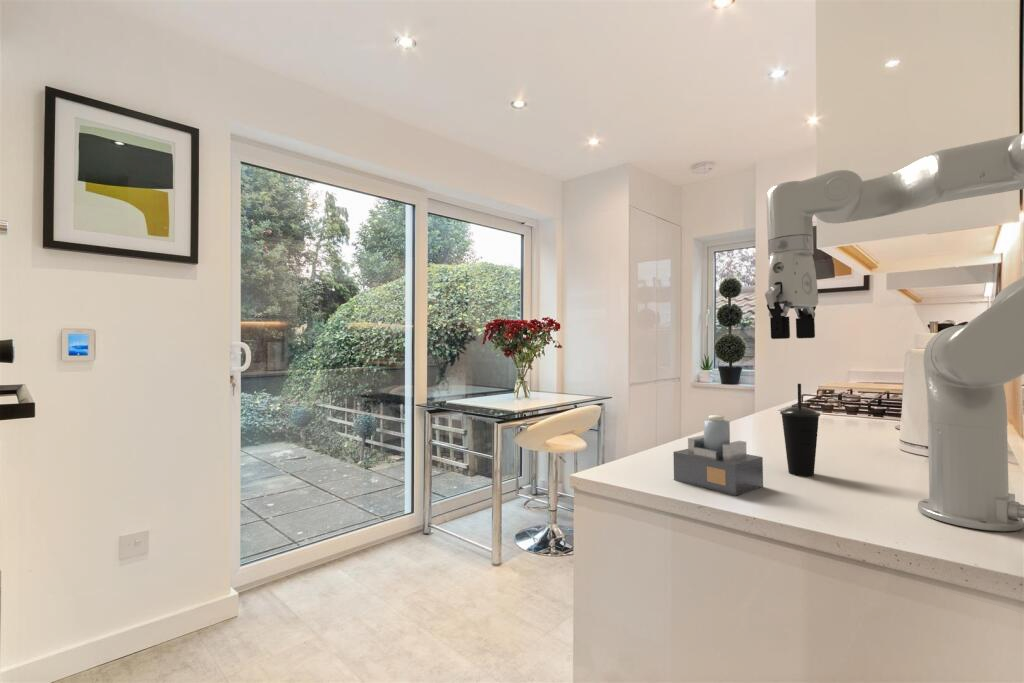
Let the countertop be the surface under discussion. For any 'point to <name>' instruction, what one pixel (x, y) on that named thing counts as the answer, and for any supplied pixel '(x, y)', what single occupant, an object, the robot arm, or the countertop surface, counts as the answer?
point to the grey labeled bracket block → (719, 467)
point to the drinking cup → (800, 438)
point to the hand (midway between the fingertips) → (793, 338)
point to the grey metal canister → (716, 433)
